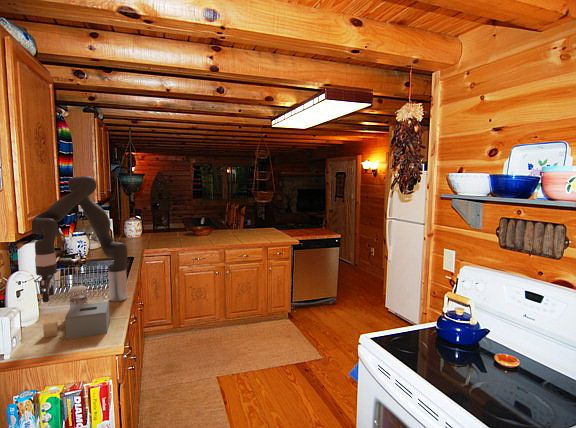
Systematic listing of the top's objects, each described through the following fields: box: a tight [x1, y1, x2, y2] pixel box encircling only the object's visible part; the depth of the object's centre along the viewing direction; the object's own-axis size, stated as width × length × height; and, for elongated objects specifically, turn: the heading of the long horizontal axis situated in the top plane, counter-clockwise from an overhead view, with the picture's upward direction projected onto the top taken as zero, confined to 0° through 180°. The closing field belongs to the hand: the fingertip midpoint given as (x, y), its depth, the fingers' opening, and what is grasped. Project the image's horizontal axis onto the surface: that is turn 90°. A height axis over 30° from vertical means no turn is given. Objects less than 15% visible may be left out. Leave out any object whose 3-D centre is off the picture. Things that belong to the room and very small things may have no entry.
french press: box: [68, 267, 89, 308], centre depth 176 cm, size 10×12×25 cm
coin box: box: [64, 300, 111, 340], centre depth 162 cm, size 14×16×10 cm
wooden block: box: [42, 320, 59, 338], centre depth 156 cm, size 2×5×6 cm, turn 112°
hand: (48, 298), depth 154 cm, fingers open, 8 cm apart
